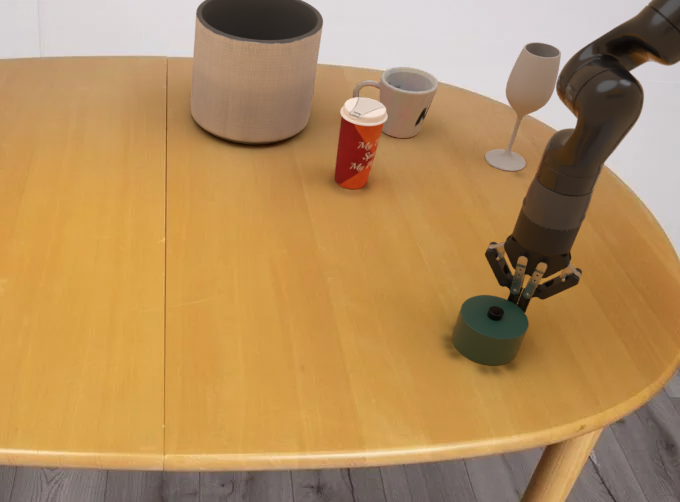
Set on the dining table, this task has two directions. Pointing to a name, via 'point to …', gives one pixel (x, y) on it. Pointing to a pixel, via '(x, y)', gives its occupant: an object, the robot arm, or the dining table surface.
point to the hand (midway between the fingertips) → (513, 311)
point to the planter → (254, 68)
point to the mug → (403, 99)
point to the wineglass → (527, 95)
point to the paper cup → (358, 140)
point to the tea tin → (489, 330)
